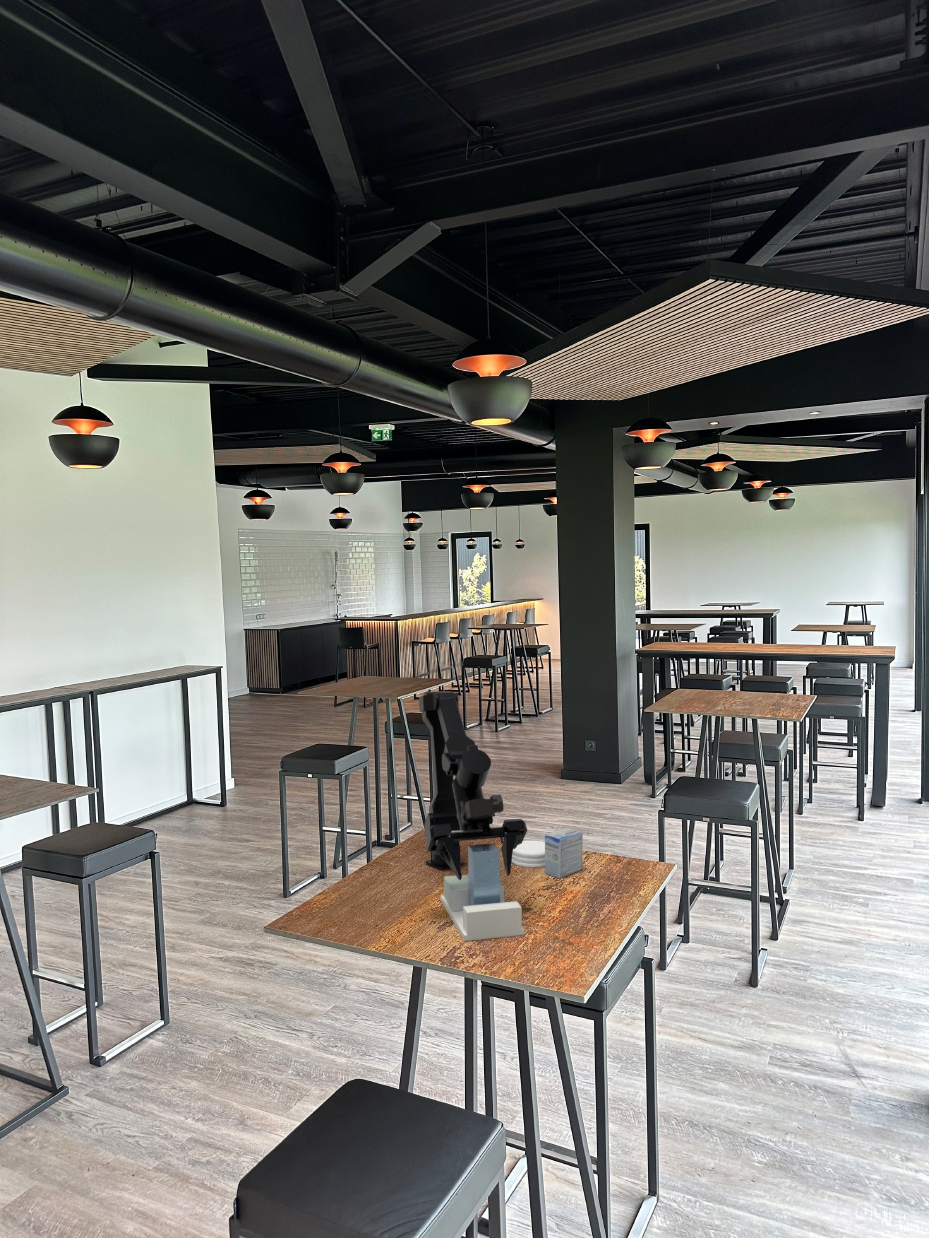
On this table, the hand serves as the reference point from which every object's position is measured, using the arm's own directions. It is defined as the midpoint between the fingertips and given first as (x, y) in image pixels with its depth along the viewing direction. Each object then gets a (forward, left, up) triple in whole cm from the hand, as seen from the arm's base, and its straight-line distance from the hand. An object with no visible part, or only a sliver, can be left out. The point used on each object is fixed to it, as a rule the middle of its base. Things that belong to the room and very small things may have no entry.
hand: (484, 876), depth 151 cm
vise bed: (-3, +2, -9) cm, 9 cm away
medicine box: (-8, +32, -9) cm, 34 cm away
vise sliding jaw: (-7, +4, -8) cm, 11 cm away
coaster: (-18, +33, -9) cm, 39 cm away
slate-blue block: (0, 0, -8) cm, 8 cm away
